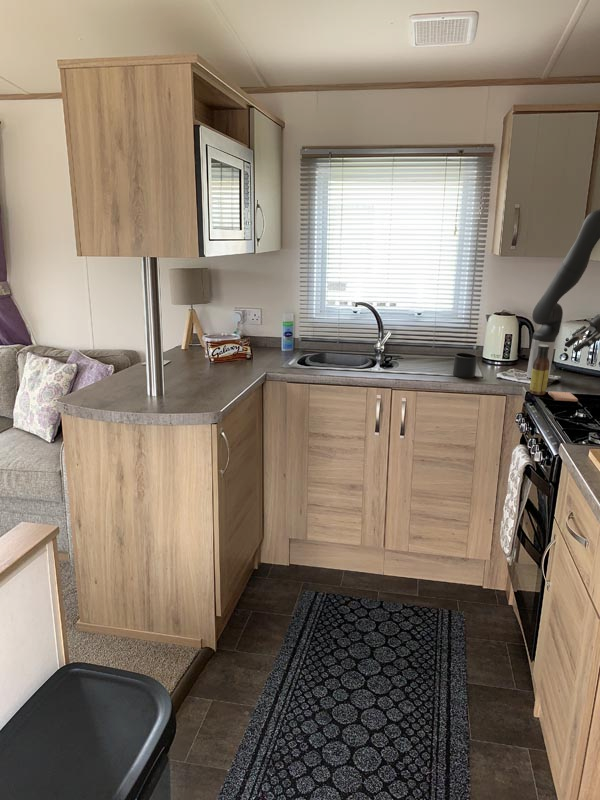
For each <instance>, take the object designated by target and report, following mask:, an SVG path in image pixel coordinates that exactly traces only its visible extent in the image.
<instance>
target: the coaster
mask: <svg viewBox="0 0 600 800" xmlns="http://www.w3.org/2000/svg"><path fill="white" fill-rule="evenodd" d="M547 393H548V395H549V396H550V397H551V398H552V399H553V400H554V401H560V402H561V401H563V402H578V401H579V399H578V398H577V397H576V396H575V395H574V394H572V393H571V392H567V391H565V392H564V391H552V390H551V391H549V390H548V392H547Z"/></svg>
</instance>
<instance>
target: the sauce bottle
mask: <svg viewBox="0 0 600 800" xmlns="http://www.w3.org/2000/svg"><path fill="white" fill-rule="evenodd" d="M548 350H549V346H548V345H538V354H537V357H536V359H535V361H534V364H533V368H532V376H531V379H530V385H529V393H530V394H533V395H535V396H545V395H546V391H547V388H548V387H547V386H548V381H549V379H548V374H549V360H548ZM549 375H550V374H549Z"/></svg>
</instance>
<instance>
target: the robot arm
mask: <svg viewBox="0 0 600 800" xmlns="http://www.w3.org/2000/svg"><path fill="white" fill-rule="evenodd" d="M599 240H600V208H598V209H596V210H593V211H592V212H589V214H588V215H586V218H585V219H584V221H583V224H582V226H581V228H580V230H579V232H578V235H577V237H576V239H575V241H574V243H573V244H572V246H571V248H570V249H569V251H568V252H567V253H566V256H565V257H564V258H563V261H562V262H561V263H560V266H559V268H558V269H557V271H556V273H555V275H554V277H553V278H552V280H551V282H550V284H549V286H548V287H547V288H546V289H545V290H546V291H545V292H544V294H543V295H542V296H541V298H540V299H539V300H538V302H537V303H536V305H535V306H534V308H533V310H532V320H533V322H534V323H535V324H537V325H538V326H539V325H540V327H539V328H538V329H537V330H536V331H535V332H533V335H532V340H531V346H530V352H529V359H528V363H527V364H528V365H527V370H526V375H527V376H528V377H530V378H531V376H532V368H533V364H534V361H535V359H536V357H537V354H538V345H548V346H549V350H548V360H549V374H548V378H549V377H550V373H551V368H552V367H551V366H552V362H553V355H554V351H555V345H556V340H557V337H558V335H559V333H560V329H561V324H562V321H563V315H564V312H563V311H564V310H563V308H562V306H561V304H560V303H559V301H560V299H562V298H563V296H565V294H568V292H570V290H572V289H573V288H574V287H575V286H576V285H577V284H578V283H579V281H580V280H581V278H582V277H583V274H584V273H585V271H586V269H587V267H588V265H589V263H590V258H591V255H592V252H593V250H594V248H595V246H596V245H597V243H598V241H599ZM588 323H589V326H586V325H583V326H581V327H580V328H579V329H576V331H575V332H573V333H572V334H571V336H572V337H571V338H570V339H568V340H567V341H566V342H565V343H564V345H565V347H567V348H571V347H572V346H573V345H574V344H575V343H577V342H579V341H580V342H579V343H578V344H576V345H575V346H574V347H573V348H572V350H573V351H574V353H578V352H580V351H581V350H582V349H584V348H590V347H591V346H592V345H594V344H595V343H596V342H597V341H599V340H600V312H599V313H598V314H597V315H595V316H594V317H593V318H591V319H590V320H589V322H588ZM549 379H550V378H549Z"/></svg>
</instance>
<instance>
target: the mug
mask: <svg viewBox="0 0 600 800" xmlns="http://www.w3.org/2000/svg"><path fill="white" fill-rule="evenodd" d="M477 362H478V355H476V354H474V353H469V352H458V353H457V352H456V353H455V354H454V361H453V369H452V375H453V376H455V377H457V378H462V379H473V378H474V377H476V369H477Z"/></svg>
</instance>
